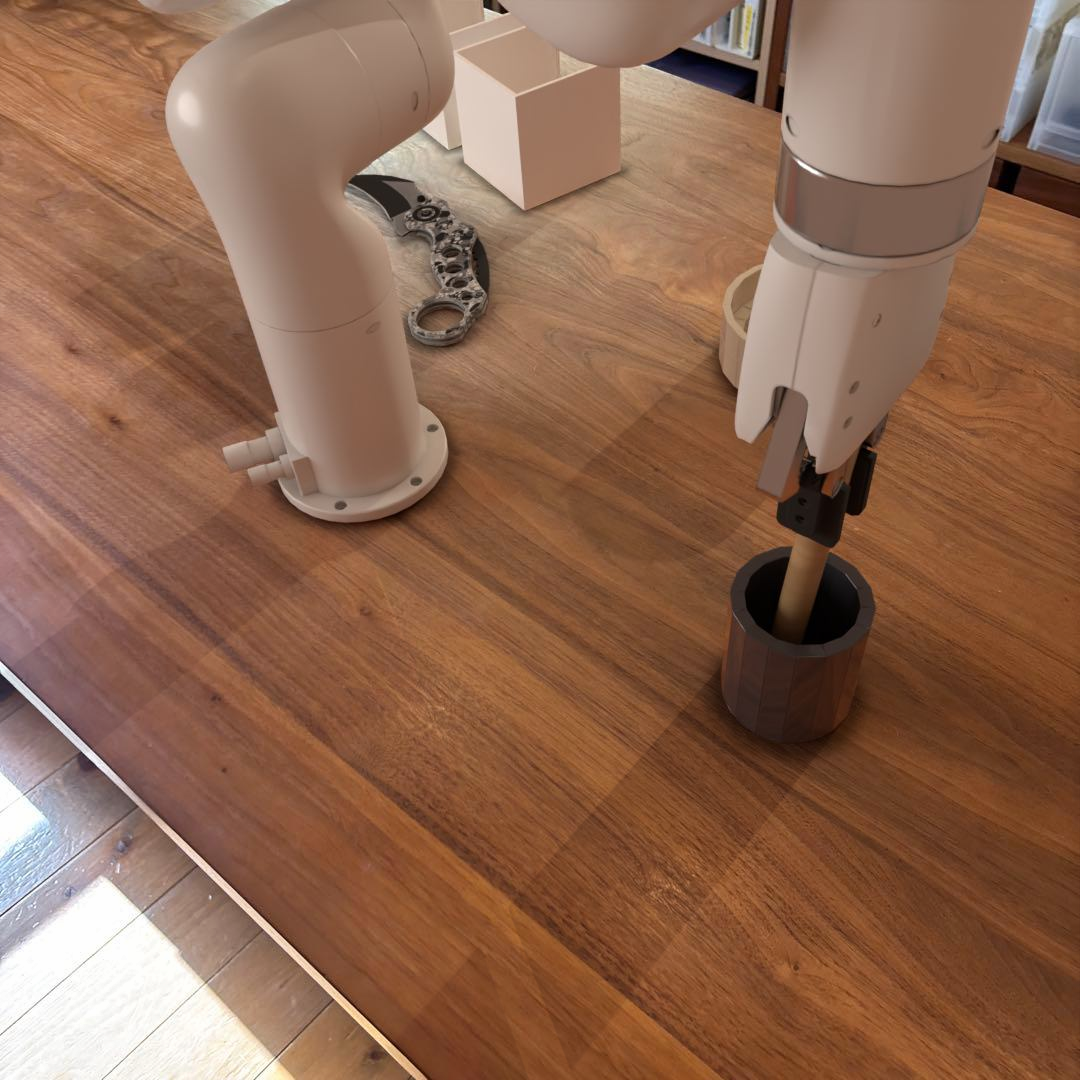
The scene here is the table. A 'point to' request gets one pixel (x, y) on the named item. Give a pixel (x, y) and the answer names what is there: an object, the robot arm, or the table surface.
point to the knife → (435, 252)
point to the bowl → (737, 322)
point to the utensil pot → (794, 650)
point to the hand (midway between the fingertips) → (820, 515)
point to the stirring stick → (802, 581)
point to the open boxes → (525, 109)
